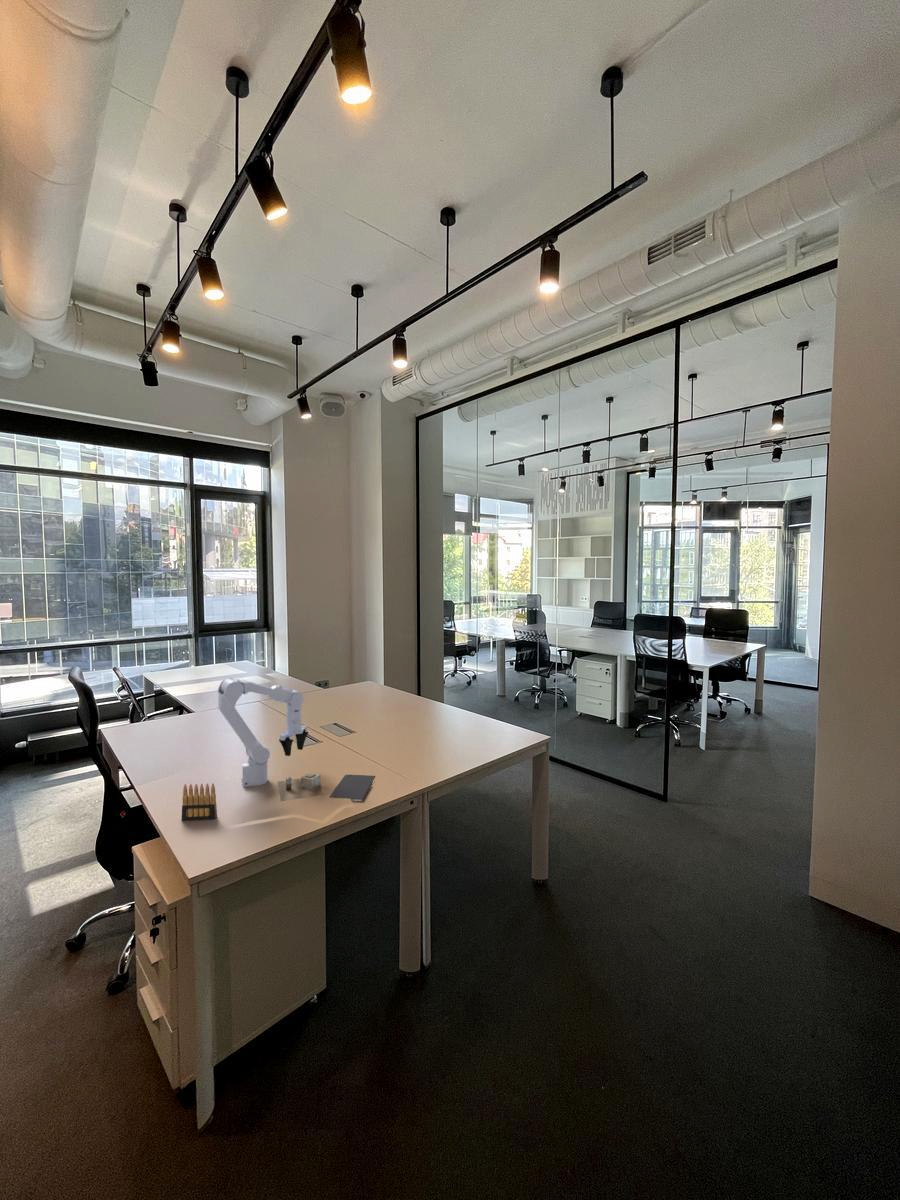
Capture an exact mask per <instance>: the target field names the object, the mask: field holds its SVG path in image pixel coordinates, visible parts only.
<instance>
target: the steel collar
mask: <svg viewBox="0 0 900 1200" xmlns="http://www.w3.org/2000/svg"><path fill="white" fill-rule="evenodd" d="M308 774H315V776H314V777H313V778H308V777H306V776H307V775H308ZM300 778H301V788H305V789H310V790H312V789H314V788H316V787H317V786H319V785H320V786H321V774H318V773H314V772H307V774H305V775H303V776H301V777H300Z"/></svg>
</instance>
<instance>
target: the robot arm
mask: <svg viewBox="0 0 900 1200" xmlns="http://www.w3.org/2000/svg"><path fill="white" fill-rule="evenodd" d="M217 693H218V700H217V701H218V703H217V704H218V708H217V709H218V710H219V711H220V713H221V715H222V716H223V717H224V719H225V720H226V721H227V723H228V724H229V726H230V727H231V728H232V731H234V733H235V735H236V736H237V737H238V738H239V740H240V742H241V743H242V744H243V746H244V748H245V753H246V755H247V756H248V760H247V762H244V763H242V777H241V783H242V788H243V787H244V788H246V787H251V786H253V787H256V786H261V785H264V784H266V783H268V782H269V781H268V780H269V779H268V777H269V776H268V775H269V774H268V771H269V769H268V768H269V767H268V766H269V765H268V762H269V761H268V760H270V759H269V758H270V756H271V755H270V750H269V749H268V748H266V747H265V746H264V745H262V744H261V742H260V741H259V740H258V739H257V738H256V736H255V735H254V733H253V732H252V730H251V729H250V727H249V726H248V724H247V723H246V722H245V721H244V718H242V716H241V715H240V713H239V712H238V710H237V709H236V707H235V706H236V705H237V702H238V700H239V699H240V698H241V697H242V695H247V694H248V693H255V694H259V695H263V696H267V697H268V698H269V700H271V701H276V702H280V703H282V704H286V730H285V731H284V732H283V733H282V734H280V735H279V738H278V740H279V743H280V744H281V746H282V749H283V752H284V755H285V757H290V756H291V754H292V747H293V746H292V745H293V742H294V739H291V737H294V736H295V739H296V748H297V750H300V751H303V749H304V745H305V741H306V739H307V737H308V735H309V732H308V725H302V704H303V703H304V700H305V698H304V697H303V696H304V695H303V694H302V693H301V692H299V691H297V690H295V689H293V688H291V687H289V688H286V687H283V686H282V685H280V684H277V685H272V686H271V687H270V686H266V685H262V684H261V683H260V684H259V683H256V682H253V681H249V680H246V679H239V678H236V679H234V678H233V677H227V678H224V679H222V680H221V682H220V684H219V686H218V688H217Z"/></svg>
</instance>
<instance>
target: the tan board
mask: <svg viewBox="0 0 900 1200" xmlns="http://www.w3.org/2000/svg"><path fill="white" fill-rule="evenodd" d="M277 787H278V793H279V798H280V802H286V801H292V800H297V799H304V798H309V797H315V796H322V795H324V791H323V789H322V786H321V784H320V785H319V786H317V787H316V788H314V789H312V790H310V789H305V788H301V777H299V778H295V779H293V778H292V789H291V790H289V791H287V790H286V780H281V781H277Z"/></svg>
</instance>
